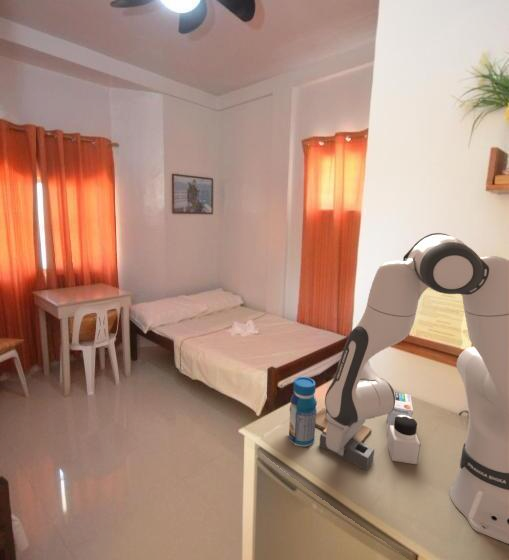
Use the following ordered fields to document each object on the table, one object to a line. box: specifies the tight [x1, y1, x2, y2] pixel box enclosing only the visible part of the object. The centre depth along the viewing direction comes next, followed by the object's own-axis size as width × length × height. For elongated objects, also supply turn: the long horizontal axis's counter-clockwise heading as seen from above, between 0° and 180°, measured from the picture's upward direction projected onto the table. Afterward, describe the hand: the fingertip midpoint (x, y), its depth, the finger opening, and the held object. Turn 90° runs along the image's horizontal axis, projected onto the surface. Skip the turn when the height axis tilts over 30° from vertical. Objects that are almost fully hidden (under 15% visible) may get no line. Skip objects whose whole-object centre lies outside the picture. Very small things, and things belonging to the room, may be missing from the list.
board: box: [315, 407, 372, 444], centre depth 111 cm, size 18×10×7 cm, turn 49°
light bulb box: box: [386, 391, 414, 436], centre depth 111 cm, size 11×7×11 cm, turn 160°
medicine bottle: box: [387, 415, 421, 465], centre depth 99 cm, size 7×7×12 cm
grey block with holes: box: [319, 428, 375, 471], centre depth 100 cm, size 15×5×5 cm, turn 49°
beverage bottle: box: [288, 376, 318, 447], centre depth 104 cm, size 8×8×20 cm
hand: (346, 448), depth 100 cm, fingers closed on grey block with holes, 5 cm apart
